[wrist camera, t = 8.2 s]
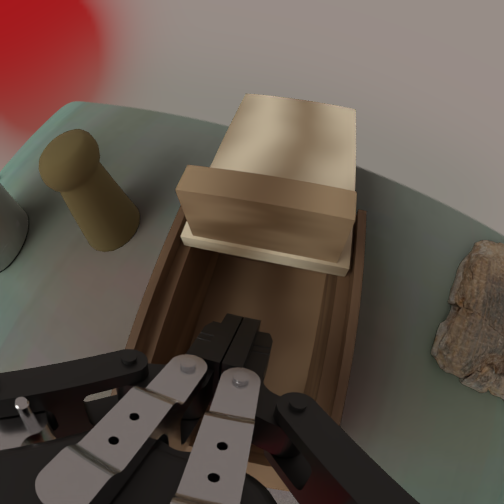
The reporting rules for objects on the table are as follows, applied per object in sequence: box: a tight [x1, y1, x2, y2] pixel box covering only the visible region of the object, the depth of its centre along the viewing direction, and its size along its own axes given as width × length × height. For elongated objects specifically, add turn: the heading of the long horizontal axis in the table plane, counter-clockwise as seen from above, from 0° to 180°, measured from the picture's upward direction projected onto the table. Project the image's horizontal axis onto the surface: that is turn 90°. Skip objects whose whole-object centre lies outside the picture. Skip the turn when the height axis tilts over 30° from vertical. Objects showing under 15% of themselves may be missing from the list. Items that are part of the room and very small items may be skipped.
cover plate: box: [175, 94, 357, 277], centre depth 18 cm, size 9×15×5 cm, turn 166°
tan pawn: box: [39, 129, 140, 252], centre depth 23 cm, size 6×6×11 cm
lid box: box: [111, 206, 366, 491], centre depth 18 cm, size 11×16×8 cm
